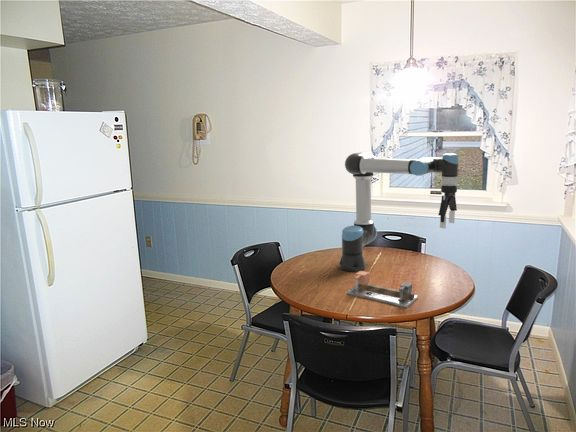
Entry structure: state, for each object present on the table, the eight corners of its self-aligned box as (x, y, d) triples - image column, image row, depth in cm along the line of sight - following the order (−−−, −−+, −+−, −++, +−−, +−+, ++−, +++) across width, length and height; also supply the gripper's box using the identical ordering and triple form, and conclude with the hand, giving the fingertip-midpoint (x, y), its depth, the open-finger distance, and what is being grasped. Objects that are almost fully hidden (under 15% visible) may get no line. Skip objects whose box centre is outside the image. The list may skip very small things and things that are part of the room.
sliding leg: (351, 289, 207) (351, 276, 205) (360, 283, 214) (360, 270, 212) (360, 291, 204) (360, 277, 202) (369, 285, 211) (369, 272, 209)
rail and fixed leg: (350, 290, 207) (350, 278, 206) (359, 284, 214) (359, 273, 213) (408, 303, 190) (408, 290, 189) (415, 296, 197) (415, 284, 196)
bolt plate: (347, 293, 206) (347, 291, 206) (359, 285, 216) (359, 283, 216) (406, 307, 188) (406, 304, 188) (417, 297, 198) (417, 295, 198)
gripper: (448, 188, 203) (446, 231, 208) (464, 182, 223) (462, 221, 227) (433, 187, 208) (431, 229, 212) (449, 181, 227) (447, 220, 231)
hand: (447, 225), depth 220 cm, fingers open, 13 cm apart
